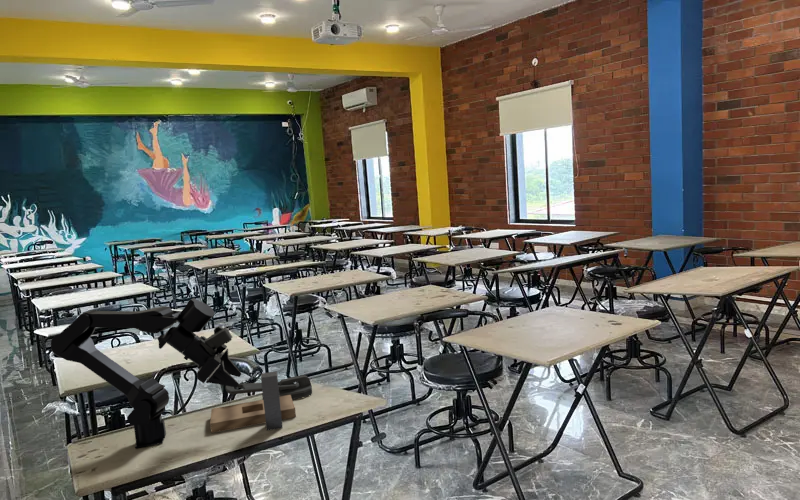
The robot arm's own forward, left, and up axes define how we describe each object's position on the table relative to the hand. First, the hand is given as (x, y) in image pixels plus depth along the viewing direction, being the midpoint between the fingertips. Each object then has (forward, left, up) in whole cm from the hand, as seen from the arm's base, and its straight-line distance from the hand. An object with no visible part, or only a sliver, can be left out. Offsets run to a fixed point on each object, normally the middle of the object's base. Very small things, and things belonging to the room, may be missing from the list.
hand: (239, 380), depth 146 cm
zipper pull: (+8, +21, -14) cm, 27 cm away
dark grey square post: (+8, -1, -14) cm, 16 cm away
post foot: (+3, +9, -14) cm, 17 cm away
